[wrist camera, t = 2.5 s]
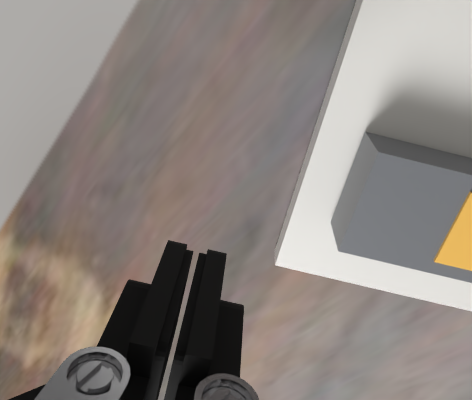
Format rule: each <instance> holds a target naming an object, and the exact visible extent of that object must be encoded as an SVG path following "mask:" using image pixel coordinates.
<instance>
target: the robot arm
mask: <svg viewBox="0 0 472 400" xmlns="http://www.w3.org/2000/svg"><path fill="white" fill-rule="evenodd" d="M186 249H187V244H182V243H178V242H174V241H169V240H168V242H167V245H166V247H165V250H164V253H163V255H162V258H161V260H160V263H159V266H158V268H157V271H156V273H155V276H154V279H153V281H152V284H147V283H143V282H138V281H134V280H128V281H127V283H126V285H125V287H124V290H123V292H122V294H121V296H120V298H119V300H118V302H117V304H116V307H115V309H114V311H113V313H112V315H111V317H110V319H109V321H108V324H107V326H106V328H105V330H104V332H103V334H102V336H101V339H100V341H99V343H98V345H97V347H88V348H84V349H80V350H78V351H76V352H75V353H73V354H71V355H70V356H69V357H68V358H67V359H66V360H65V361H64V362H63V363H62V364H61V365H60V367H59V368H58V369H57V371H56V372H55V373H54V375H53V376H52V377H51V378H50V380H49V381H48V382H47V384H45V385H43V386H40V387H38V388H35V389H33V390H31V391H28V392H26V393H23V394H21V395H18V396H16V397H14V398H11V399H9V400H158V396H159V392H160V388H161V385H162V381H163V377H164V373H165V369H166V365H167V361H168V357H169V354H170V350H171V346H172V342H173V338H174V334H175V330H176V326H177V322H178V317H179V313H180V308H181V304H182V300H183V295H184V291H185V286H186V282H187V278H188V273H189V269H190V264H191V260H192V255H193V251H190V250H186ZM225 262H226V253H222V252H217V251H213V250H209V249H208V251H207V254H203V253H199V256H198V260H197V265H196V269H195V273H194V277H193V281H192V285H191V289H190V293H189V297H188V302H187V306H186V310H185V314H184V318H183V322H182V326H181V330H180V334H179V338H178V343H177V347H176V351H175V355H174V359H173V364H172V368H171V372H170V376H169V381H168V385H167V389H166V394H165V398H164V400H259V398H258V395H257V393H256V392H255V391H254V389H253V388H252V386H250V385H249V384H248V383H247V382H246V381H244V380H243V379H241V378H240V365H241V348H242V331H243V315H244V306H243V305H241V304H236V303H232V302H227V301H223V300H220V298H221V291H222V284H223V276H224V269H225Z"/></svg>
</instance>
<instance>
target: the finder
mask: <svg viewBox="0 0 472 400" xmlns="http://www.w3.org/2000/svg"><path fill="white" fill-rule="evenodd" d="M331 226H332V230H333V234H334V238H335V241H336V245H337V249H338V251H339V252H343V253H347V254H351V255H356V256H360V257H364V258H368V259H372V260H377V261H381V262H385V263H389V264H394V265H398V266H402V267H406V268H410V269H415V270H419V271H423V272H427V273H431V274H436V275H440V276H444V277H448V278H453V279H457V280H461V281H465V282H469V283H472V158H469V157H465V156H461V155H457V154H453V153H449V152H445V151H441V150H437V149H433V148H429V147H425V146H421V145H417V144H413V143H409V142H405V141H401V140H397V139H393V138H389V137H385V136H381V135H377V134H373V133H369V132H365V133H364V135H363V138H362V140H361V143H360V146H359V148H358V151H357V154H356V156H355V159H354V161H353V164H352V167H351V169H350V172H349V175H348V177H347V180H346V182H345V185H344V188H343V190H342V193H341V196H340V198H339V201H338V203H337V206H336V209H335V211H334V214H333V217H332V219H331Z"/></svg>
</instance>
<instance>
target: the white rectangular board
mask: <svg viewBox="0 0 472 400" xmlns="http://www.w3.org/2000/svg"><path fill="white" fill-rule="evenodd" d="M365 132H369V133H373V134H377V135H381V136H385V137H389V138H393V139H397V140H401V141H405V142H409V143H413V144H417V145H421V146H425V147H429V148H433V149H437V150H441V151H445V152H449V153H453V154H457V155H461V156H465V157H469V158H472V0H356V2H355V6H354V9H353V12H352V15H351V18H350V21H349V24H348V27H347V30H346V33H345V36H344V39H343V42H342V45H341V49H340V52H339V55H338V58H337V61H336V64H335V67H334V70H333V73H332V76H331V79H330V82H329V85H328V88H327V91H326V95H325V98H324V101H323V104H322V107H321V110H320V113H319V116H318V119H317V122H316V125H315V128H314V131H313V134H312V138H311V141H310V144H309V147H308V150H307V153H306V156H305V159H304V162H303V165H302V168H301V171H300V174H299V177H298V181H297V184H296V187H295V190H294V193H293V196H292V199H291V202H290V205H289V208H288V211H287V214H286V217H285V220H284V223H283V227H282V230H281V233H280V236H279V239H278V242H277V245H276V248H275V265H276V266H281V267H285V268H289V269H293V270H298V271H302V272H306V273H310V274H315V275H319V276H323V277H328V278H332V279H336V280H340V281H345V282H349V283H353V284H357V285H362V286H366V287H370V288H374V289H379V290H383V291H387V292H392V293H396V294H400V295H404V296H409V297H413V298H417V299H421V300H426V301H430V302H434V303H438V304H443V305H447V306H451V307H455V308H460V309H464V310H468V311H472V283H469V282H465V281H461V280H457V279H453V278H448V277H444V276H440V275H436V274H431V273H427V272H423V271H419V270H415V269H410V268H406V267H402V266H398V265H394V264H389V263H385V262H381V261H377V260H372V259H368V258H364V257H360V256H356V255H351V254H347V253H343V252H339V251H338V249H337V245H336V241H335V238H334V234H333V230H332V226H331V219H332V217H333V214H334V211H335V209H336V206H337V203H338V201H339V198H340V196H341V193H342V190H343V188H344V185H345V182H346V180H347V177H348V175H349V172H350V169H351V167H352V164H353V161H354V159H355V156H356V154H357V151H358V148H359V146H360V143H361V140H362V138H363V135H364V133H365Z"/></svg>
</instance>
